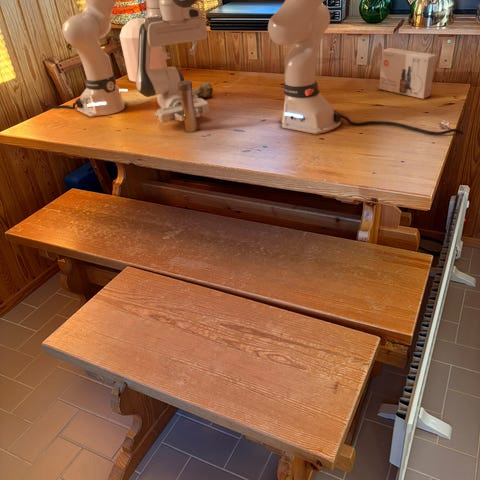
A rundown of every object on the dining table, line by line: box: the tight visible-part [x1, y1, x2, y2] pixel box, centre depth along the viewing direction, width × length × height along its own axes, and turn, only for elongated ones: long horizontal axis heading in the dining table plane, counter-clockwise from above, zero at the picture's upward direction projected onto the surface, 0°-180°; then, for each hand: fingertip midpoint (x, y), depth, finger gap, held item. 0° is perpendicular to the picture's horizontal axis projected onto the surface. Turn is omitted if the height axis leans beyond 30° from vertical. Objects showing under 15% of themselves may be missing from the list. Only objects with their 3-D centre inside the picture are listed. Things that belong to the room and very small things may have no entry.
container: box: [119, 17, 168, 83], centre depth 235 cm, size 21×21×28 cm
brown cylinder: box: [179, 88, 198, 133], centre depth 170 cm, size 4×4×17 cm
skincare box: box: [378, 47, 437, 100], centre depth 184 cm, size 21×6×16 cm, turn 40°
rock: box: [192, 81, 214, 99], centre depth 206 cm, size 11×6×10 cm
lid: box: [178, 79, 193, 91], centre depth 166 cm, size 5×5×2 cm
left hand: (190, 117), depth 171 cm, fingers closed on brown cylinder, 4 cm apart
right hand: (180, 56), depth 160 cm, fingers open, 7 cm apart
